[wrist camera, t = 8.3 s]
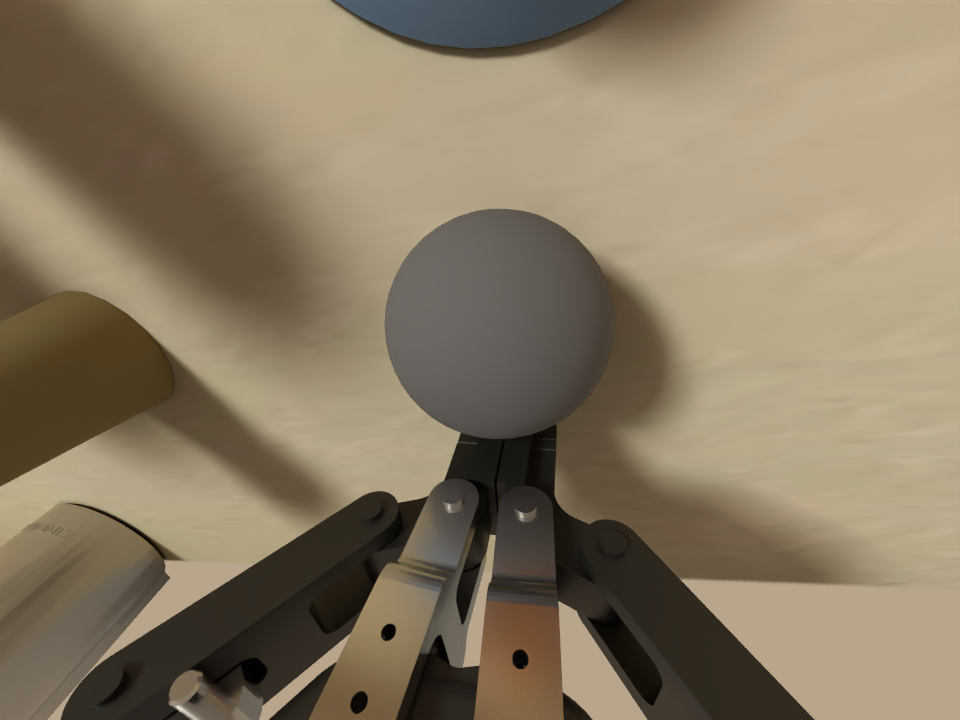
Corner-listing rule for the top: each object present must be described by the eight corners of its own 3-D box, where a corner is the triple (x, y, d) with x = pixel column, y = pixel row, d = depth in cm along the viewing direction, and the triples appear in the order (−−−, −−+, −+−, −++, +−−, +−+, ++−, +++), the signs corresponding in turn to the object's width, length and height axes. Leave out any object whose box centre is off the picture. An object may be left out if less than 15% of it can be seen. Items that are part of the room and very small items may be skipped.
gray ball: (618, 479, 6) (644, 146, 6) (315, 432, 7) (354, 159, 8) (595, 440, 11) (611, 261, 12) (424, 417, 13) (443, 257, 13)
